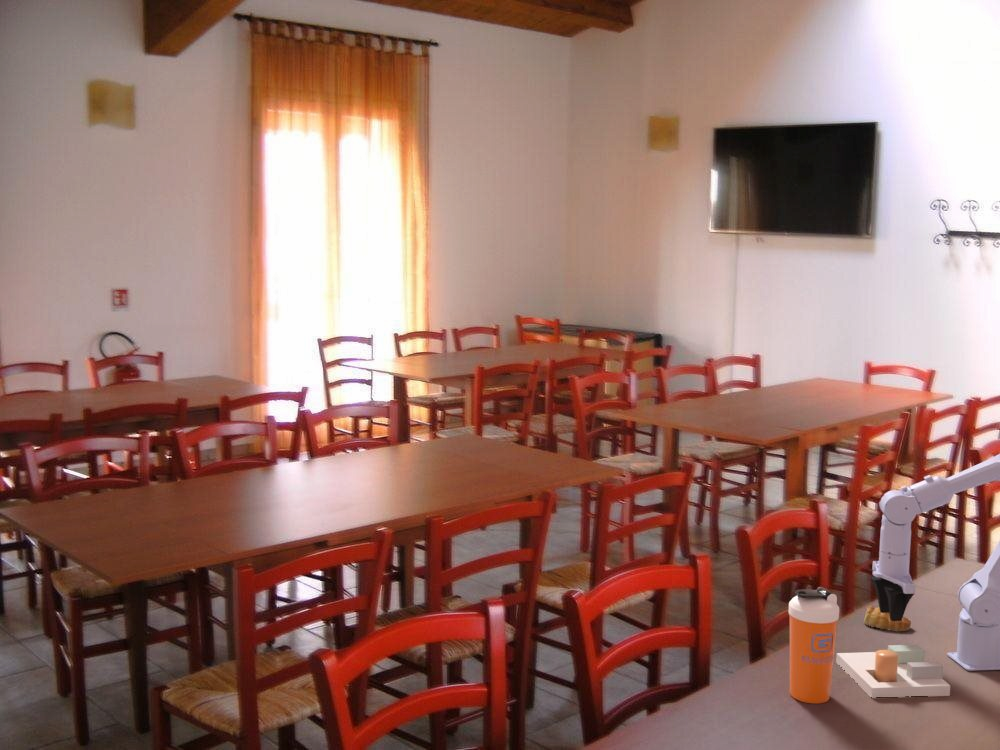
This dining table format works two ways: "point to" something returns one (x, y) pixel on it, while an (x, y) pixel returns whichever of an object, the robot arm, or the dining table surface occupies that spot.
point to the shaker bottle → (812, 644)
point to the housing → (909, 677)
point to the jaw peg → (886, 666)
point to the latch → (908, 653)
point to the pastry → (884, 620)
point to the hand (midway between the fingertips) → (890, 616)
